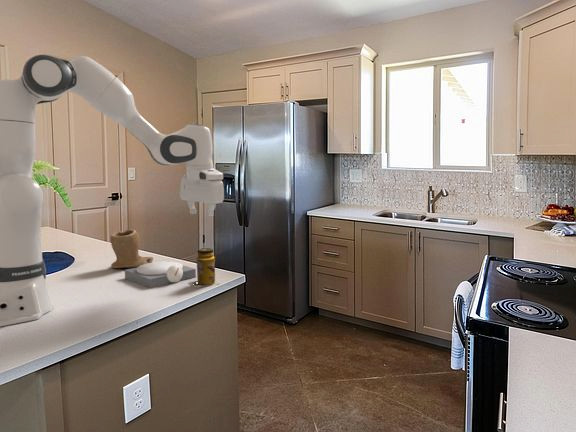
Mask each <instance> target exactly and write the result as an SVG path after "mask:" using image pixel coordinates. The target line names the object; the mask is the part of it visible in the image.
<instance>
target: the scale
mask: <svg viewBox="0 0 576 432" xmlns="http://www.w3.org/2000/svg"><path fill="white" fill-rule="evenodd" d="M193 277H194V278H197V268H194V267H190V266H187V265H184V264H182V263H181V262H178V261H170V260H169V261H167V260H166V261H154V262H153V261H152V263H148V264H144V265H141V266H139V267H131V268H128V269H127V268H126V269H124V278H125V279H127V280H129V281H132V282H134V283H137V284H139V285H143V286H144V287H147V288H149V289H152V288H157V287H160V286H161V287H162V286H164V285H168V284H172V283H177V282H181V281H185V280H189V278H190V279H193Z"/></svg>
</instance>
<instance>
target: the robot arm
mask: <svg viewBox="0 0 576 432" xmlns="http://www.w3.org/2000/svg"><path fill="white" fill-rule="evenodd" d="M65 93H73V94H76V95H77V96H79V97H81V98H83V100H85V101H86V102H87V103H88V104H90V105H91V106H92V107H93V108H95V109H96V110H97V111H98V112H100V113H101V114H103V115H104V116H105V117H108V118H109V119H111V120H113V122H115V123H117V124H119V125H120V126H121V127H123V128H124V129H125V130H127V131H128V132H129V133H130V134H132V136H134V137H135V138H136V139H137V140H138V141H139V142H141V144H143V145H144V146H145V148H146V149H147V151H148V153H149V155H150V157H151V158H152V160H153V161H154V162H155V163H157V164H159V165H161V166H172V165H179V164H182V163H185V169H186V173H184V174H183V176H181V180H180V186H179V188H180V189H179V197H180V199H181V201H186V203H187V206H188V208H189V214H190V215H196V214H197V211H198V210H197V208H196V207H195V204H196V202H198V203H207V207H208V209H207V210H206V217H214V215H215V214H214V213H215V212H214V211H215V209H216V207H217V204H222V203H223V201H224V199H225V189H224V182H223V181H222V180H223V179H224V173H223V172H221V171H219V170H217V169H216V168H214V162H213V158H212V157H213V152H214V151H213V149H214V147H213V138H212V133H211V130H210V128H209V127H207V126H205V125H202V124H197V123H188V124H187V125H185V126H184V127H183V128H181V129H180V130H177V131H174V132H172V133H169V134H164V133H161V132H159V131H158V130H157V129H156V128H155V127H154V126H153V125H152V124H151V123H149V121H147V120H146V119H145V118H144V117H143V116H142V115H141V114H140V112H139V111H138V109H137V107H136V103H135V98H134V95H133V93H132V91H130V89H129V88H128V87H127V86H126V85H125V83H123V82H122V80H120V79H119V78H118V77H117V76H115V74H113V73H112V72H111V71H110V70H109V69H108V68H106V67H105V66H103V65H101V64H100V63H99V62H97V61H96V60H95V59H92V57H89V56H86V55H79V56H76V57H74V58H72V59H71V60H70V61H69V60H67V59H63V58H58V57H57V56H56V57H55V56H52V55H48V54H37V55H34V56H32V57H30V58H29V59H28V60H27V61H26V62H25V64H24V66H23V68H22V72H21V75H20V77H19V78H17V79H0V327H4V326H9V325H10V326H11V325H14V324H15V325H16V324H19V323H24V322H25V323H26V322H31V321H36V320H38V319H40V318H41V317H43V316H44V315H45V314H47V313H49V312H50V311H51V310H52V309H53V308H54V307H53V306H54V305H53V303H52V300H51V299H50V298H51V297H50V296H49V292H48V288H47V284H46V278H47V269H46V264H45V260H44V259H43V249H42V237H41V236H42V235H41V232H42V231H41V230H42V229H41V228H42V227H41V226H42V216H43V202H44V193H43V190H42V187H41V186H40V184H39V183H38V182H37V181H36V180H35V179H34V178H33V169H34V162H35V158H36V154H37V153H36V152H37V150H36V149H37V146H36V144H37V143H36V138H37V137H36V107H37V105H40V104H41V105H42V104H46V103H51V102H54V101H57V100H58V99H60V98H61V97H62V96H64V94H65Z"/></svg>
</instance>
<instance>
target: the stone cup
mask: <svg viewBox="0 0 576 432" xmlns="http://www.w3.org/2000/svg"><path fill="white" fill-rule="evenodd" d="M109 241H110V244H111V248H112V250H113V253H114V254H115V256H116V260H114V261H113V262H112V263H111V267H112V268H114V269H125V268H126V269H127V268H128V269H131V268H137V267H139V266H141V265H144V264H148V263H153V261H154V257H153V256H141V255H140V254H139V253H140V252H139V249H140V236H139V233H138V232H137V230H135V229H126V230H124V231H123V230H120V231H119V230H118V231H115V232H114V233H112V234H111V235H110V240H109Z"/></svg>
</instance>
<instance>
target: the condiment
mask: <svg viewBox="0 0 576 432" xmlns="http://www.w3.org/2000/svg"><path fill="white" fill-rule="evenodd" d="M215 260H216V259H215V256H214V249H213V248H210V247H204V248H203V247H202V248H198V249H197V257H196V278H197V279H196V281H195V280H194V281H189V282H188V283H189V284H190V285H191V286H192V287H194V288H203V287H210V286H216V285H219V284H220V283H219V282H218V281H216V268H215V267H216V264H215ZM196 282H198V284H196ZM193 284H194V285H193ZM198 285H201V286H198Z"/></svg>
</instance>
